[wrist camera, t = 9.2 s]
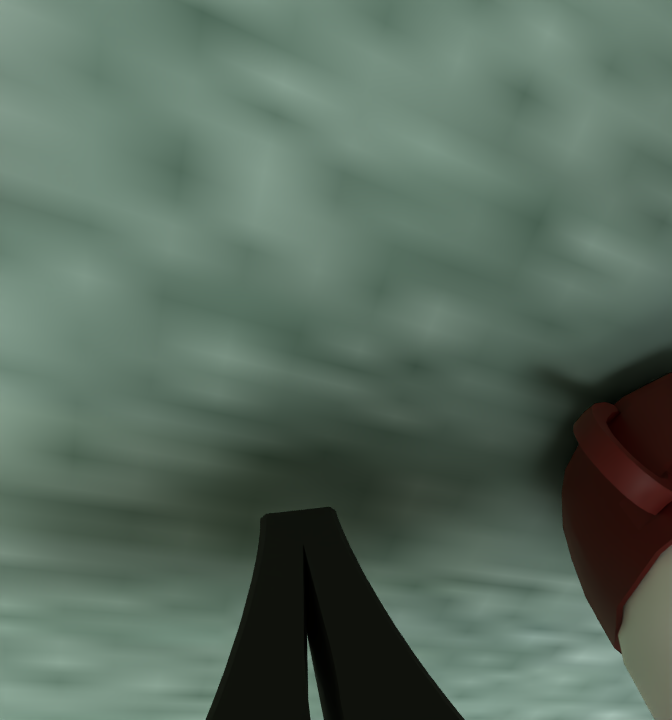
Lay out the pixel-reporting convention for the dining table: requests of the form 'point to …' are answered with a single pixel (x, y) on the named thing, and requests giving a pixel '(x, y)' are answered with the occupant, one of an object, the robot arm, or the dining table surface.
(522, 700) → the dining table surface
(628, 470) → the cocoa
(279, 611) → the robot arm
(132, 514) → the dining table surface
